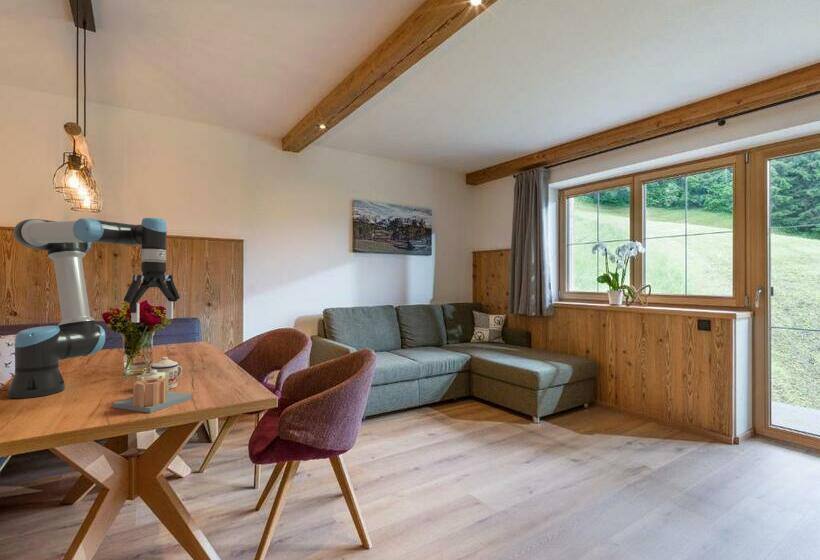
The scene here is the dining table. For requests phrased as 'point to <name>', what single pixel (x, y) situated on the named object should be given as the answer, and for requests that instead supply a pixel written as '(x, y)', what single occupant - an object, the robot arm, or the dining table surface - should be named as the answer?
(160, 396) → the loose gear
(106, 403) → the dining table surface
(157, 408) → the gear board
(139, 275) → the robot arm
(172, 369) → the teacup with lid
